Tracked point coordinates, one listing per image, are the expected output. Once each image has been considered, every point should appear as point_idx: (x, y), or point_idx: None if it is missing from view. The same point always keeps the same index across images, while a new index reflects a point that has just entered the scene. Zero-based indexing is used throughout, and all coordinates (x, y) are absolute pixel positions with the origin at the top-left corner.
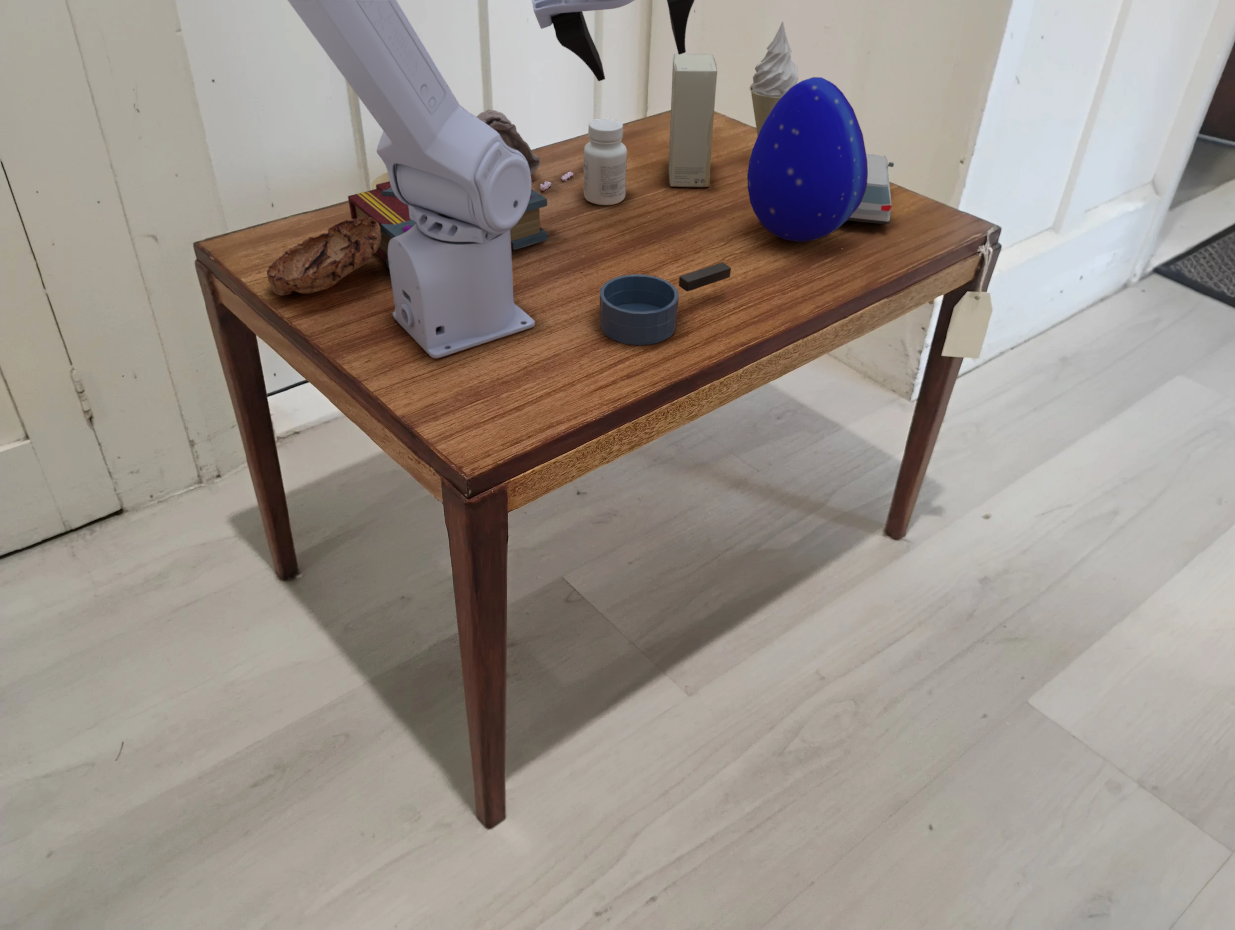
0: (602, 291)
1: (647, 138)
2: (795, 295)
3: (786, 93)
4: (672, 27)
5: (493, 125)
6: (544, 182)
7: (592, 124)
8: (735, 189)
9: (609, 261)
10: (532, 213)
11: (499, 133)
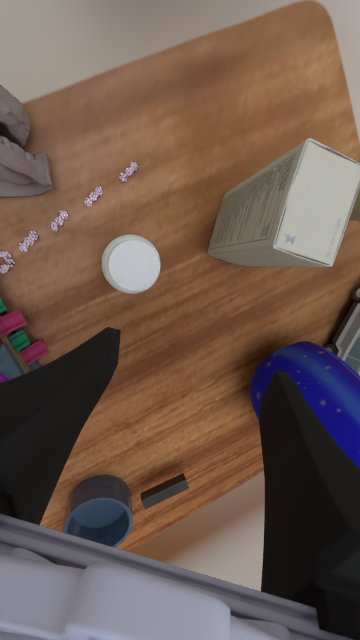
0: (66, 525)
1: (228, 90)
2: (232, 466)
3: (355, 451)
4: (276, 415)
5: None
6: (59, 211)
7: (113, 263)
8: (267, 273)
9: (100, 403)
10: None
11: None
